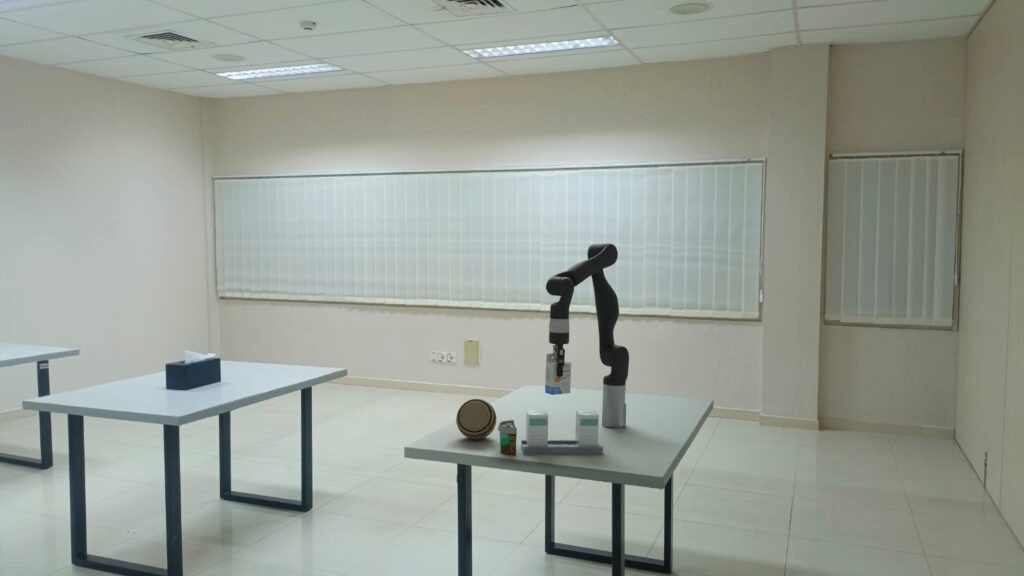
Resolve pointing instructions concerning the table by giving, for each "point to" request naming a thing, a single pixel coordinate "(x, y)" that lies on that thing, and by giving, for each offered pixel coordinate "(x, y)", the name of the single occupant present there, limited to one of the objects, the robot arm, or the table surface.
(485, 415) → the mechanical component
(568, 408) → the table surface
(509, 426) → the food container
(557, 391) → the ink box
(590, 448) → the grey u-shaped piece
